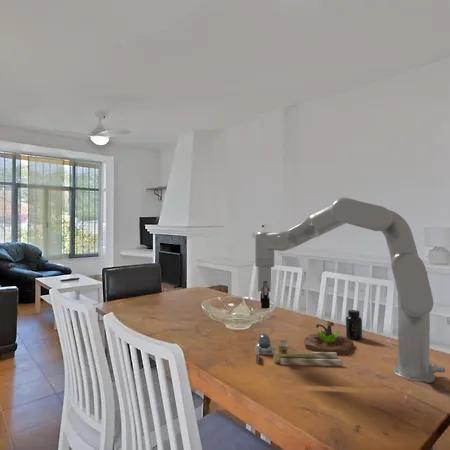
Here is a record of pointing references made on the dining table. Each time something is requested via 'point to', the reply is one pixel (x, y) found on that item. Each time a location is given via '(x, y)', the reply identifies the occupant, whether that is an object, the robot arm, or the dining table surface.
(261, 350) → the v block
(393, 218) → the robot arm
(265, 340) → the dark grey short cylinder
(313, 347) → the plant
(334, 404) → the dining table surface
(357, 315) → the supplement bottle
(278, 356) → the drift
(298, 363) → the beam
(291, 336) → the dining table surface
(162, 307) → the dining table surface
